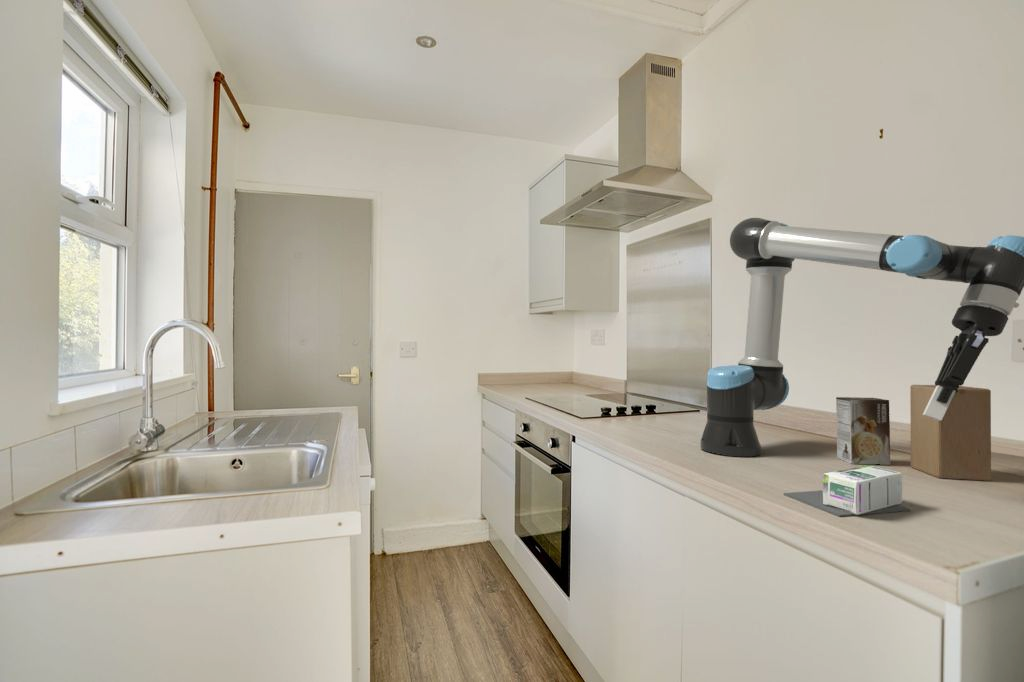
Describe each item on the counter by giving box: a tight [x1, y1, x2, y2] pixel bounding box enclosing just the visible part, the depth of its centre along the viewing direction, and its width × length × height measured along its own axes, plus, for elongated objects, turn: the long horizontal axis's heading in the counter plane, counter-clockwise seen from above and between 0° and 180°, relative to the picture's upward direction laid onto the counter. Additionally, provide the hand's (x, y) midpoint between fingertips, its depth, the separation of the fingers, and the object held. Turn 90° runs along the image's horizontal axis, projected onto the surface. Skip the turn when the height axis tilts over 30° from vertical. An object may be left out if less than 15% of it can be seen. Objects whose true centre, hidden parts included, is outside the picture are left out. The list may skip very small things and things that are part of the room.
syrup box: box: [822, 464, 903, 516], centre depth 84 cm, size 6×6×14 cm
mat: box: [783, 489, 911, 518], centre depth 86 cm, size 15×12×1 cm
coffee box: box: [835, 396, 891, 466], centre depth 117 cm, size 9×6×16 cm
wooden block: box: [909, 384, 992, 482], centre depth 106 cm, size 10×10×20 cm
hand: (931, 417), depth 93 cm, fingers closed
